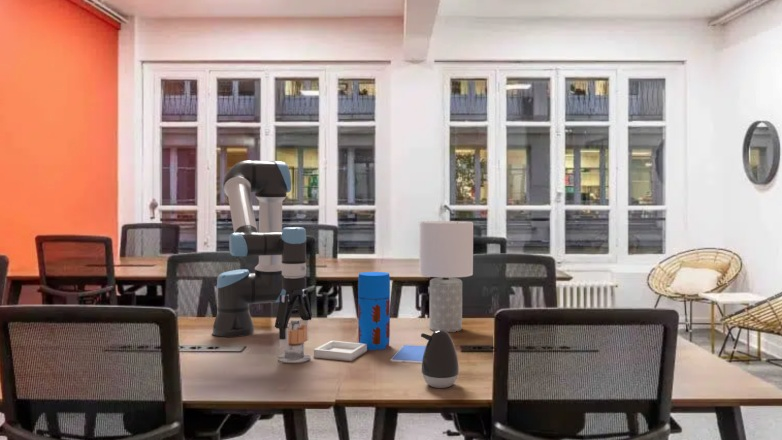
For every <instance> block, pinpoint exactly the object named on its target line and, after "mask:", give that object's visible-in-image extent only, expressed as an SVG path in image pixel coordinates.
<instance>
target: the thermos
mask: <svg viewBox="0 0 782 440" xmlns="http://www.w3.org/2000/svg"><path fill="white" fill-rule="evenodd" d="M357 279H358V280H357V281H358V285H357V286H358V288H357V289H358V291H357V295H358V296H357V297H358V298H357V301H358V304H357V306H358V307H357V308H358V309H357V311H358V312H357V314H358V315H357V316H358V318H357V320H358V321H357V322H358V323H357V325H358V326H357V329H358V331H357V338H358V343H363V344H367V351H368V350H369V351H377V350H385V349H388V348H389V347H390V339H391V338H390V337H391V336H390V335H391V332H390V331H391V330H390V327H391V324H390V323H391V318H390V317H391V312H390V310H391V309H390V307H391V303H390V302H391V290H390V289H391V288H390V287H391V277H390V273H389V272H383V271H364V272H363V271H362V272H360V273H358V278H357Z"/></svg>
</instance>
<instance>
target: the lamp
mask: <svg viewBox="0 0 782 440" xmlns="http://www.w3.org/2000/svg"><path fill="white" fill-rule="evenodd" d="M418 272H419V275H420V276H424V277H430V278H431V279H430V280H429V330H431V331H433V332H435V331H437V330H444V331H446V332H447V333H455V332H456V331H457V332H460V331H461V330H462V328H463V280H461V279H460V278H467V277H471V276H473V275H474V222H472V221H462V220H461V221H459V220H457V221H456V220H454V221H451V220H450V221H448V220H447V221H446V220H444V221H443V220H435V221H434V220H431V221H429V220H427V221H420V222H419V271H418Z"/></svg>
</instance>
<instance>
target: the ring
mask: <svg viewBox="0 0 782 440" xmlns="http://www.w3.org/2000/svg"><path fill="white" fill-rule="evenodd" d="M287 328H288V325H287ZM307 342H308V341H307V327H306V325H302V326H301V325H300V329H297V330H289V329H288V344H297V343H304V344H305V343H307Z"/></svg>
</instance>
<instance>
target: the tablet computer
mask: <svg viewBox="0 0 782 440" xmlns="http://www.w3.org/2000/svg"><path fill="white" fill-rule="evenodd" d="M425 348H426V345H414V344H413V345H411V344H404V345H402V346H401V347H400V349H399V350H398V351H397V352H396V353H395V354H394V355H393V356H392V357H391V358H390V362H392V361H394V362H393V363H405V362H407V363H408V364H420V365H422V360H423V355H424V351H425ZM407 363H406V364H407Z"/></svg>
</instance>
